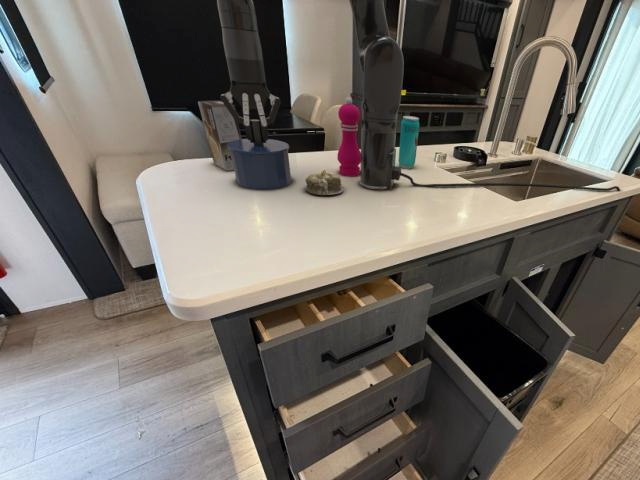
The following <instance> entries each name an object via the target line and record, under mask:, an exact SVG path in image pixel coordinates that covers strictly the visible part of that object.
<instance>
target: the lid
mask: <svg viewBox="0 0 640 480" xmlns="http://www.w3.org/2000/svg"><path fill="white" fill-rule="evenodd" d="M249 124H250V126H251V131H252V137H253V143H251V142H250V140H248V139H247V138H241V139H240V140H234V141H231V142H229V143H228V144H227V147H228V149H230V150H232V151H235V152H239V153H246V154H275V153H281V152H284V151H287V150H288V151H289V149H290V145H289V144H288V143H287V142H285V141H281V140H277V139H271V138H269V139H268V140H266V143H263V137H262V131H261V120H260V119H249Z"/></svg>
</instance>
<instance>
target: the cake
mask: <svg viewBox="0 0 640 480" xmlns="http://www.w3.org/2000/svg"><path fill="white" fill-rule="evenodd" d="M305 183H306V188H305V191H306V192H307V193H310V194H312V195H319V196H329V195H330V196H331V195H338V194H341V193H343V192H344V190H345V189H344V187H343V184H342V179H341V176H339V175H338V174H337V173H331V172H327V170H326V169H323V170H322V171H321V172H318V173H312V174H310V175H308V176H307V177H305Z"/></svg>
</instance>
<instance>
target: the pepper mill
mask: <svg viewBox="0 0 640 480" xmlns="http://www.w3.org/2000/svg"><path fill="white" fill-rule="evenodd" d="M337 115H338V119H339V120H340V122H341V123H340V130H341V133H342V137H341V138H342V139H341V143H340V146H339V149H338V151H337V157H336V158H337V162H338V163H339V164H340V165H339V167H338V169H339V174H340V175H342V176H346V177H347V176H348V177H356V176H358V175H359V176H360V175H361V173H360V169H361V166H359V165H361V149H360V147H359V145H358V141H357V131H358V130H359V124H358V122H359V121H360V120H361V111H360V109H359V107H357V106H356V105H355V104H353V98H352V97H350V96H348V97H346V98H345V103H344V104H342V105H341V106H340V107H339V108H338V113H337Z"/></svg>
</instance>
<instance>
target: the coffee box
mask: <svg viewBox="0 0 640 480" xmlns="http://www.w3.org/2000/svg"><path fill="white" fill-rule="evenodd" d="M197 104H198V108H199V111H200V115H201V119H202V123H203V127H204V130H205V134H206V138H207V139H206V140H207V142H208V147H209V150H210V153H211V154H210V155H211V158H212V162H213V164H214V165H215V166H217V167H219V168H221V169H222V170H224V171H226V172H227V171H228V172H230V171H234V167H233V162H232V157H231V153H230V149H228V147H227V144H228V143H229V142H231V141H234V140H240V139H242V135H241V129H240V123H237V122H236V121H235V119H234V118H233V117H232V115H231V114H230V112H229V111H228V109H227V108H226V106H225V105H224V103H223V102H222V100H199V101H197ZM232 106H233V107H234V109H235V110H236V111H237V108H236V105H235V104H232Z"/></svg>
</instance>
